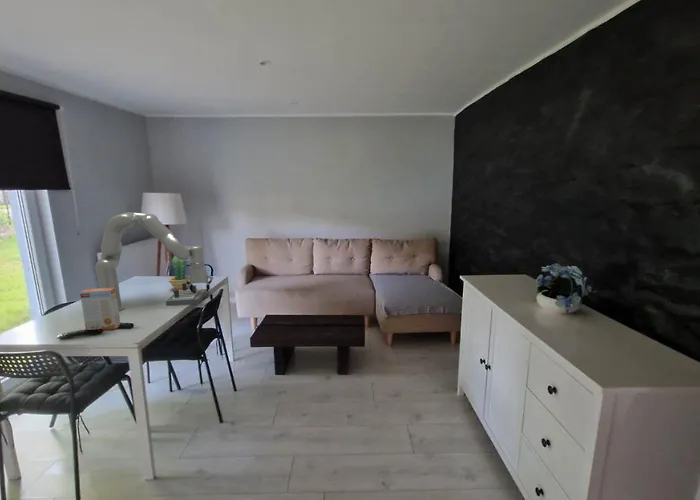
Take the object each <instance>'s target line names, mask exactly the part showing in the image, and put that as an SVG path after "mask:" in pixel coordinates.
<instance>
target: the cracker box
mask: <svg viewBox="0 0 700 500" xmlns="http://www.w3.org/2000/svg"><path fill="white" fill-rule="evenodd" d="M79 295H80V301H81V302H80V303H81V307H82V314H83V320H84V326H85V330H87V329H96V328H99V329H102V330H101V331H113V330H117V329H118V328H119V327H120V326H119V325H120V324H121V317H120V311H119V310H118V303H117V296H116V289H115V288H99V287H98V288H87V289H84V290H82V291H80V292H79Z"/></svg>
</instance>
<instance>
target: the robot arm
mask: <svg viewBox="0 0 700 500" xmlns="http://www.w3.org/2000/svg"><path fill="white" fill-rule="evenodd" d="M132 227H135V228H136V227H137V228H139V227H140V228H144V229H145V230H146V231H148V232H149V233H150V234H151V235H153V237H155V238H156V239H157V240H158V241H159V242H160V243H161V244H162V245H163V246H164V247H165V248H166V249H167V250H168V251H169V252H170V253H172V255H174V256H176V257H177V258H179V259H180V260H186V259H189V257H190V262H189V264H188V266H190V268H189V275H188V276H189V277H188V278H186V279H185V281H186V283H187V284H188V285H189V286H188V287H189V289H190V290H191V292H192V286H194V285H193V284H206V286H205V289H207V291H208V292H209V290H210V288H211V287H210V286H211V285H210V284H212V282H213V280H214V277H212V276H210V275H208V271H207V267H206V266H205V260H204V259H205V258H204V247H203V246H202V245H183V244H182V243H181V242H180V241H179V240H178V239H177V238H176V236H175V235H174V233H173V232H172V231H171V230H170V229H169V228H168V227H167V226H166V225H165V224H164V223H163V222H162V221H161V220H159V217H158V216H157V215H156V214H153V213H144V212H143V213H141V212H131V211H127V212H123V213H120V214H116V215H114V216H112V217H110V218H109V220H108V221H107V223H106V224H105V228H104V233H103V236H102V240H101V245H100V252H101V257H100V259H98V260H97V262H96V263H95V267H94V268H95V274H96V277H97V278H96V279H97V282H98V283H97V284H98V288H115V289H116V296H117V303H118V310H119V312H120V311H123V310H125V308H126V306H125V305H123V304H122V298H121V292H120V285H119V284H120V283H119V279H118V273H117V268H118V266H119V263H120V260H121V255H122V251H123V250H122V249H123V243H122V241H121V240H122V236H123V231H124V230H125V229H128V228H132ZM188 279H190V282H189V281H188ZM209 279H210V280H209Z"/></svg>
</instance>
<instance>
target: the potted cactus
mask: <svg viewBox="0 0 700 500" xmlns="http://www.w3.org/2000/svg"><path fill="white" fill-rule="evenodd" d="M171 264H172V265H171V266H172V268H173V271H174V276H173V277H169V278H168V282H169V284H170V285H171V286H172V287H173V288H174V289H175V290H183V288H182V284H183V283H186V281H185V279H186V278H188V277H189V276H190V275H186V269H187V265H189V264H190V259H189V258H188V259H186V260H180V259H179V258H177V257H176V256H175V255H174V256H173V258H172V260H171ZM188 281H189V282H190V279H188ZM186 284H187V283H186ZM189 287H190V286H189V285H188V284H187V288H188V289H189ZM175 290H174V291H175Z"/></svg>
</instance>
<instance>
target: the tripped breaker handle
mask: <svg viewBox="0 0 700 500" xmlns="http://www.w3.org/2000/svg"><path fill="white" fill-rule="evenodd" d="M196 288H197V285H193V286H192V293H196V292H197V290H196Z"/></svg>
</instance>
